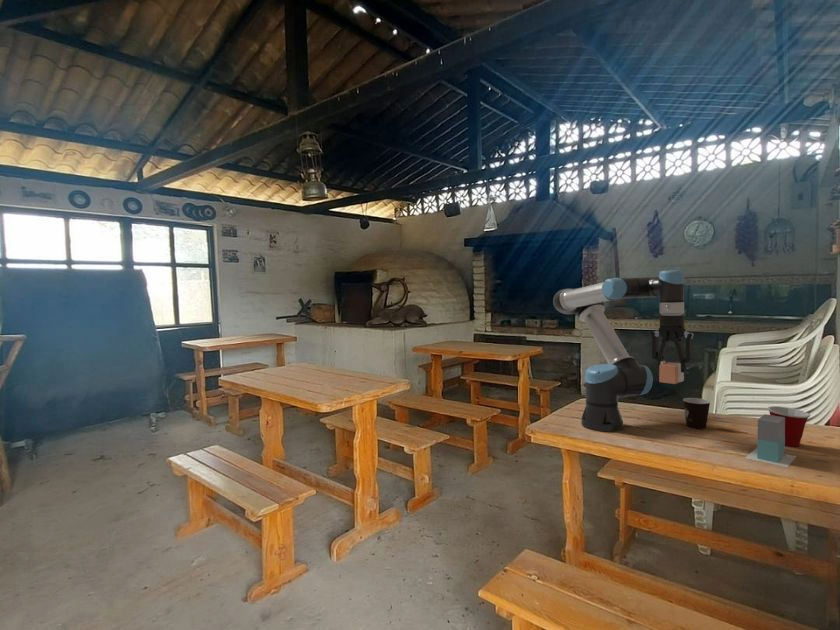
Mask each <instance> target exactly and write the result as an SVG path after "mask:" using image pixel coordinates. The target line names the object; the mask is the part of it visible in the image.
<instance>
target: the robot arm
mask: <svg viewBox="0 0 840 630" xmlns="http://www.w3.org/2000/svg"><path fill="white" fill-rule="evenodd" d="M685 283H686V282H685V274H684V271H683V270H681V269H676V270H675V269H673V270H671V269H669V270H661V271H659V275H658V276H641V277H612V278H606V279H605V281H604V282H599V283H595V284H591V285H587V286H582V287H578V288H577V287H576V288H563V289H560V290H558V291H557V292H556V293H555V295H554V296H553V300H552V303H553V307H554V308H555V310H556V311H558V313H561V314H564V315H577V317H578V319H579V321H580V322H583V323H585V324H586V326H587V328H588V330H589V332H590V334H591V335H592V337H593V338H594V340H595V342H596V344H597V346H598V348H599V350H600V351H601V353H602V355H603V357H604V358H605V361H606V362H607V363H604V364H602V363H600V364H595V365H591V366H589V367H588V368H587V369H586V371H585V377H584V381H585V406H584V409H583V411H582V415H581V421H580V422H581V423H580V424H581V425H582V427H583V428H586V429H589V430H594V431H598V432H599V431H600V432H615V431H620V430H622V429H623V428H624V420H623V417H622V414H621V412H620V410H619V409H620V408H619V398H626V397H638V396H641V395H645V394H647V393H649V391H650V390H651V389H652V386H653V382H654V381H653V380H654V377H653V373H652V371H651V370H650V368H649V367H648V366H647V365H644V364H639V362H638V361H637V359H636V358H635V357H634V356H631V355H629V353H628V351H627V349H626V348H625V347H624V344H623V343H622V342H621V340H620V338H619V336H618V335H617V333H616V331H615V330H614V329H613V326H612V324H611V323H610V321H609V319H608V318H607V316H606V315H605V310H606V308H605V307H606V304H607V303H606V302H611V301H617V300H622V299H623V300H624V299H643V298H645V299H646V298H659V314H660V315H659V328H658V330H654V331H651V332H650V336H651V339H652V340H651V341H652V342H651V358H652V359H653V360H656V361H657V370H659V365H661V364H665V363H667V361H666V360H665V356H666V351H667V349H668V345H669V343H670V342H671V341H672V342H673V344H674V345H675V349H676V351H677V356H678V358H679V362H677V363H678V382H679V383H681V382H684V381H683V373H684V374H685V373H686V372H687V363H690V362H692V361H693V360H694V359H693V339H694V338H695V333H694V332H689V331H686V329H685V316H684V314H685ZM659 336H661V339H662V340H661V345H660V348H659ZM683 336H684V337H685V349H684V346H683V340H682V338H683Z"/></svg>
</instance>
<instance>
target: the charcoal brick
mask: <svg viewBox="0 0 840 630" xmlns="http://www.w3.org/2000/svg"><path fill="white" fill-rule="evenodd" d="M784 437H785V417H779V416H773V415H770V414H763V415H761V416H760V417H759V418H758V419H757V439H760V440H765V441H770V442H775V443H779V442H780V441H781V440H782V439H783V438H784Z"/></svg>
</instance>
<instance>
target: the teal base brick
mask: <svg viewBox="0 0 840 630" xmlns="http://www.w3.org/2000/svg"><path fill="white" fill-rule="evenodd" d="M756 441H757V442H756V443H757V445H756V446H757V447H756V448H757V458H758V459H762V460H767V461H771V462H776V463H779V461H780V460H781V459H782V458H783V457H784V456H785V454H786V452H785V451H786V446H785V437H784V438H783V439H782V440H781V441H780V442H779V443H775V442H770V441H765V440H760V439H757V440H756Z"/></svg>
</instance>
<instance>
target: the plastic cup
mask: <svg viewBox="0 0 840 630" xmlns="http://www.w3.org/2000/svg"><path fill="white" fill-rule="evenodd" d="M767 410H768V412H769V415H773V416H779V417H785V448H786V447H787V448H798V447H800V445H801V441H802V438H803V435H804V429H805V427H806V424H807V421H808V420H809V418H810V417H811V415H812V414H810V413H809V412H807V411H804V410H801V409H798V408H791V407H787V406H775V405H774V406H771V405H770V406H768V407H767Z"/></svg>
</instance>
